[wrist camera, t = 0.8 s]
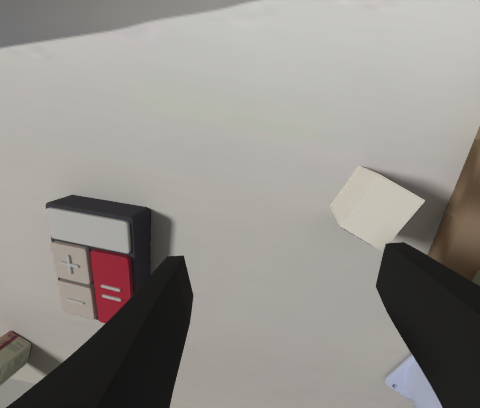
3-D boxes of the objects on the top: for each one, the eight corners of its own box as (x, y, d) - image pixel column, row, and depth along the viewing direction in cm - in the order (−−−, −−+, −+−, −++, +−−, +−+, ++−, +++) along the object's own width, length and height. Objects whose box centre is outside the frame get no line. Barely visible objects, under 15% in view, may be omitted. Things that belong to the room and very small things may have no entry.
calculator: (57, 315, 32) (37, 204, 27) (84, 294, 36) (70, 193, 31) (135, 336, 30) (128, 220, 25) (154, 311, 34) (151, 207, 29)
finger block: (393, 185, 23) (425, 200, 17) (360, 226, 25) (380, 253, 19) (359, 165, 23) (379, 174, 18) (328, 207, 25) (338, 228, 19)
